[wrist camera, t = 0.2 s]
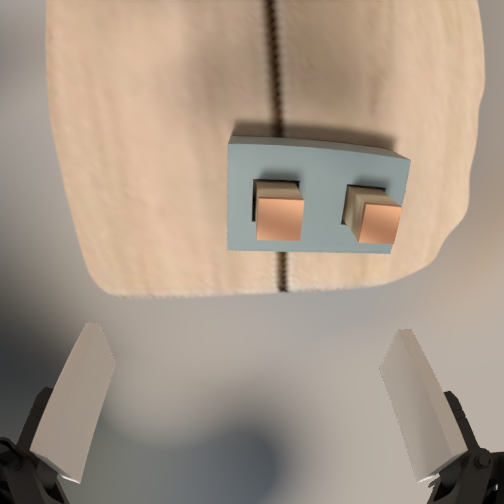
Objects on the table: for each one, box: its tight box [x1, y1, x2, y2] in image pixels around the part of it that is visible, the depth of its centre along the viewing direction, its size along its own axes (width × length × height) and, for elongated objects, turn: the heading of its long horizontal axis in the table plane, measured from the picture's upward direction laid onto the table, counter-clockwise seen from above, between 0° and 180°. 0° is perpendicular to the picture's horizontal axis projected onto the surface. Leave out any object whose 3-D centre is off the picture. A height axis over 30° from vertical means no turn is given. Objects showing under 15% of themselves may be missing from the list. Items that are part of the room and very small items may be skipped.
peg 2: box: [342, 185, 402, 244], centre depth 30 cm, size 4×4×6 cm
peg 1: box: [255, 180, 305, 241], centre depth 30 cm, size 4×4×6 cm
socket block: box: [227, 136, 411, 254], centre depth 34 cm, size 12×20×6 cm, turn 88°
